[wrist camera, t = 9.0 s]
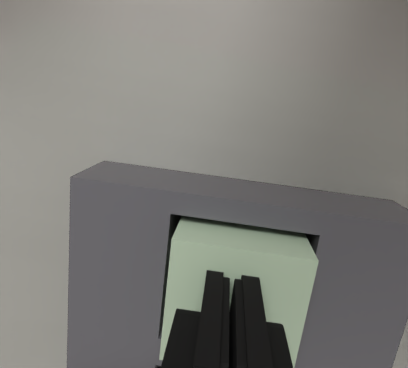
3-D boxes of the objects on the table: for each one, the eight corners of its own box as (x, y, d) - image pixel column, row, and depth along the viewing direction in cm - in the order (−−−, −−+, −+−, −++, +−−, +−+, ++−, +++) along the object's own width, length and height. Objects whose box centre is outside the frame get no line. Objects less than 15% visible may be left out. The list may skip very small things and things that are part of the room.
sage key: (187, 203, 13) (171, 238, 10) (297, 219, 13) (318, 260, 10) (176, 299, 15) (159, 359, 11) (277, 315, 14) (291, 381, 11)
